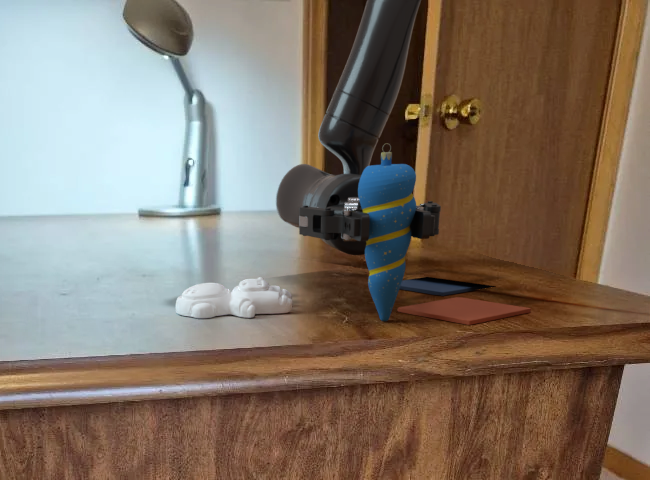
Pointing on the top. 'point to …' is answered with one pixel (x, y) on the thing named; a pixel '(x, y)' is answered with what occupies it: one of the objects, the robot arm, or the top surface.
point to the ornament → (387, 227)
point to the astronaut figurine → (234, 300)
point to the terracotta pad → (464, 310)
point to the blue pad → (440, 286)
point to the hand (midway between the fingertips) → (396, 226)
